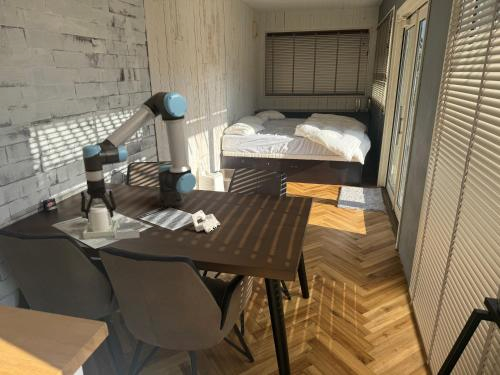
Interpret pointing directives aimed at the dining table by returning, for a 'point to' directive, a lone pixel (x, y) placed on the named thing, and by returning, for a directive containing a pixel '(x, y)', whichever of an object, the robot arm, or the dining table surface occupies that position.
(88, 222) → the idler pulley
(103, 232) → the parts tray
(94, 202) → the mechanical component
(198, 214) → the mounting bracket
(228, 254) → the dining table surface
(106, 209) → the white jar
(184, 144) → the robot arm
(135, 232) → the tensioner cradle
